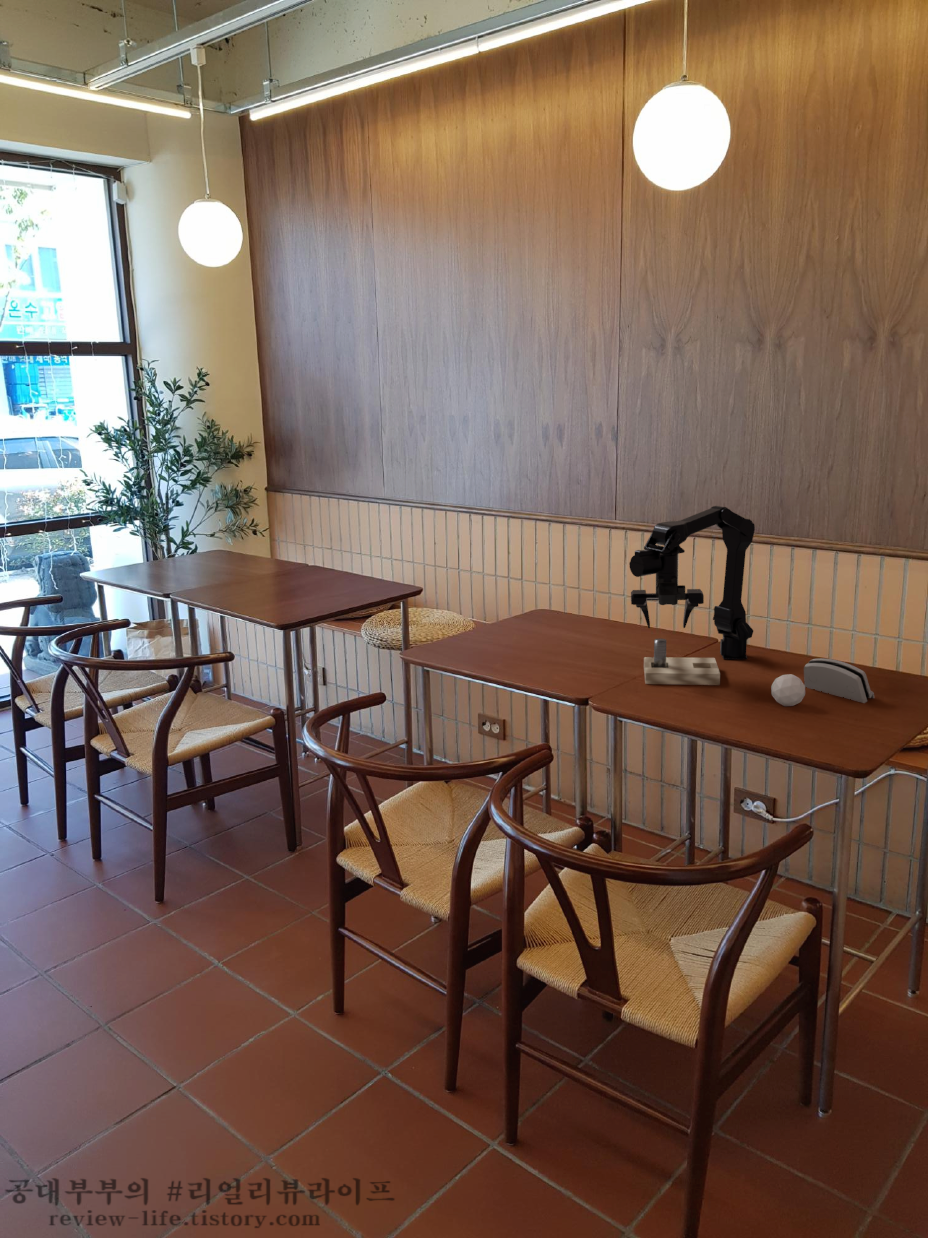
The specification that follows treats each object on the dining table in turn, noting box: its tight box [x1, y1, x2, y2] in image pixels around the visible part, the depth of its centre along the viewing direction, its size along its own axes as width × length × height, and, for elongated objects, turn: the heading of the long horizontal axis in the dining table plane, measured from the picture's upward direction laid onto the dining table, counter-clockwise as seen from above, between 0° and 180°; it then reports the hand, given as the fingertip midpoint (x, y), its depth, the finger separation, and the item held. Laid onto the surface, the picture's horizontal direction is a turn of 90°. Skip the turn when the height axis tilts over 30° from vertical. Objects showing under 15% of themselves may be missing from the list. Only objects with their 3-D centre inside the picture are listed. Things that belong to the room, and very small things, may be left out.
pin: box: [653, 638, 667, 668], centre depth 251 cm, size 3×3×10 cm
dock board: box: [643, 656, 721, 686], centre depth 251 cm, size 19×14×3 cm
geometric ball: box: [770, 673, 806, 707], centre depth 226 cm, size 8×8×8 cm
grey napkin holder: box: [803, 657, 875, 704], centre depth 232 cm, size 17×5×10 cm, turn 37°
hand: (666, 627), depth 251 cm, fingers open, 9 cm apart
